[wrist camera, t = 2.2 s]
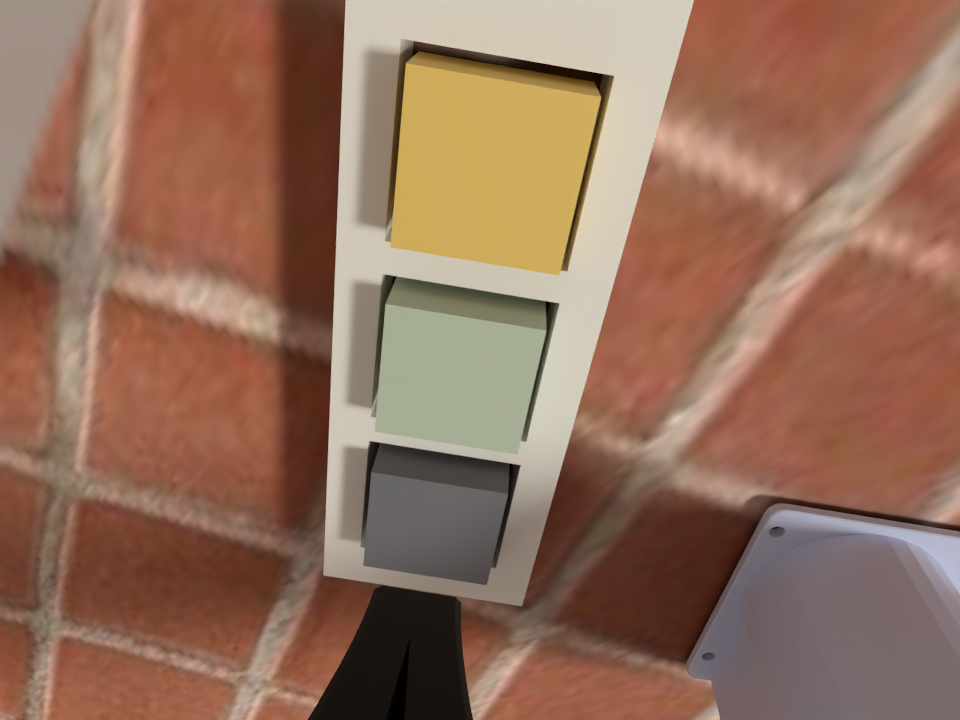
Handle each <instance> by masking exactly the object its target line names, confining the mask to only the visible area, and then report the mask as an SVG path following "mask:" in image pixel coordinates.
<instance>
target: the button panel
mask: <svg viewBox="0 0 960 720" xmlns="http://www.w3.org/2000/svg"><path fill="white" fill-rule="evenodd" d="M693 2H694V0H346V2H345V28H344V54H343V80H342V106H341V131H340V157H339V183H338V209H337V235H336V261H335V287H334V313H333V339H332V365H331V391H330V417H329V442H328V468H327V494H326V520H325V546H324V572H323V575H324V576H330V577H337V578H343V579H350V580H356V581H362V582H369V583H375V584H382V585H388V586H395V587H401V588H407V589H414V590H420V591H427V592H433V593H439V594H446V595H452V596H459V597H465V598H472V599H478V600H484V601H491V602H497V603H504V604H510V605H517V606H522V605H523V601H524V597H525V594H526V590H527V587H528V583H529V580H530V576H531V573H532V569H533V566H534V562H535V559H536V555H537V552H538V548H539V545H540V541H541V538H542V534H543V531H544V527H545V523H546V520H547V516H548V513H549V509H550V506H551V502H552V499H553V495H554V492H555V488H556V485H557V481H558V478H559V474H560V471H561V467H562V464H563V460H564V456H565V453H566V449H567V446H568V442H569V439H570V435H571V432H572V428H573V425H574V421H575V418H576V414H577V411H578V407H579V404H580V400H581V397H582V393H583V390H584V386H585V382H586V379H587V375H588V372H589V368H590V365H591V361H592V358H593V354H594V351H595V347H596V344H597V340H598V337H599V333H600V330H601V326H602V323H603V319H604V316H605V312H606V308H607V305H608V301H609V298H610V294H611V291H612V287H613V284H614V280H615V277H616V273H617V270H618V266H619V263H620V259H621V256H622V252H623V249H624V245H625V241H626V238H627V234H628V231H629V227H630V224H631V220H632V217H633V213H634V210H635V206H636V203H637V199H638V196H639V192H640V189H641V185H642V182H643V178H644V175H645V171H646V167H647V164H648V160H649V157H650V153H651V150H652V146H653V143H654V139H655V136H656V132H657V129H658V125H659V122H660V118H661V115H662V111H663V108H664V104H665V101H666V97H667V93H668V90H669V86H670V83H671V79H672V76H673V72H674V69H675V65H676V62H677V58H678V55H679V51H680V48H681V44H682V41H683V37H684V34H685V30H686V27H687V23H688V19H689V16H690V12H691V9H692V5H693ZM414 41H417V42H423V43H429V44H434V45H440V46H446V47H452V48H457V49H463V50H469V51H475V52H480V53H486V54H492V55H498V56H503V57H509V58H515V59H520V60H526V61H532V62H538V63H543V64H549V65H555V66H561V67H566V68H572V69H578V70H584V71H589V72H595V73H601V74H603V76H602V81H601V85H600V89H599V93H600V95H601V101H600V105H599V109H598V113H597V118H596V122H595V126H594V130H593V135H592V139H591V143H590V147H589V152H588V156H587V160H586V165H585V169H584V173H583V177H582V182H581V186H580V190H579V194H578V199H577V203H576V207H575V211H574V216H573V220H572V224H571V228H570V233H569V237H568V241H567V246H566V250H565V254H564V258H563V263H562V267H561V271H560V275H553V274H547V273H541V272H536V271H530V270H524V269H518V268H512V267H506V266H500V265H494V264H488V263H482V262H476V261H470V260H464V259H458V258H452V257H446V256H440V255H434V254H428V253H422V252H416V251H410V250H404V249H398V248H392V247H390V245H391V233H392V221H393V209H394V198H395V186H396V174H397V162H398V151H399V139H400V127H401V115H402V103H403V92H404V80H405V68H406V63H407V62H408V61H409V60H410V59H411V58H412V55H413V44H414ZM393 276H398V277H404V278H410V279H416V280H422V281H428V282H434V283H440V284H446V285H452V286H458V287H464V288H470V289H476V290H482V291H488V292H494V293H500V294H506V295H512V296H518V297H524V298H530V299H536V300H542V301H548V302H550V305H549V309H548V314H547V318H546V329H547V331H546V335H545V339H544V344H543V348H542V352H541V356H540V361H539V365H538V369H537V373H536V378H535V382H534V386H533V391H532V395H531V399H530V403H529V408H528V412H527V416H526V420H525V425H524V429H523V433H522V437H521V442H520V446H519V450H518V454H511V453H505V452H499V451H492V450H486V449H480V448H474V447H467V446H461V445H455V444H449V443H443V442H436V441H430V440H424V439H418V438H412V437H405V436H399V435H393V434H387V433H380V432H375V422H376V410H377V398H378V386H379V375H380V363H381V351H382V339H383V327H384V316H385V304H386V302H387V299H388V297H389V294H390V292H391V289H392V280H393ZM378 442H380V443H386V444H392V445H398V446H405V447H411V448H417V449H423V450H430V451H436V452H442V453H448V454H454V455H461V456H467V457H473V458H479V459H486V460H492V461H498V462H504V463H511V464H513V465H512V469H511V473H510V477H509V488H508V497H507V501H506V506H505V510H504V514H503V518H502V523H501V527H500V531H499V535H498V540H497V544H496V548H495V553H494V557H493V561H492V565H491V570H490V574H489V578H488V582H487V585H482V584H476V583H470V582H463V581H457V580H450V579H444V578H438V577H431V576H425V575H418V574H412V573H406V572H399V571H393V570H386V569H380V568H374V567H367V566H363V563H364V551H365V540H366V528H367V516H368V504H369V492H370V481H371V471H372V468H373V465H374V462H375V458H376V455H377V448H378Z"/></svg>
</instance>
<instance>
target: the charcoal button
mask: <svg viewBox="0 0 960 720" xmlns="http://www.w3.org/2000/svg"><path fill="white" fill-rule="evenodd" d="M509 465H510V463H504V462H498V461H492V460H486V459H479V458H473V457H467V456H461V455H454V454H448V453H442V452H436V451H430V450H423V449H417V448H411V447H405V446H398V445H392V444H386V443H380V445H379V448H378V452H377V455H376V458H375V462H374V465H373V468H372V471H371V481H370V492H369V504H368V516H367V528H366V540H365V551H364V563H363V566H367V567H374V568H380V569H386V570H393V571H399V572H406V573H412V574H418V575H425V576H431V577H438V578H444V579H450V580H457V581H463V582H470V583H476V584H482V585H487V582H488V578H489V574H490V570H491V565H492V561H493V557H494V553H495V548H496V544H497V540H498V535H499V531H500V527H501V523H502V518H503V514H504V510H505V506H506V501H507V497H508V488H509Z"/></svg>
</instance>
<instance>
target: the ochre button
mask: <svg viewBox="0 0 960 720" xmlns="http://www.w3.org/2000/svg"><path fill="white" fill-rule="evenodd" d="M600 101H601V95H600V93H599V91H598V89H597V87H596V84H595V82H592V81H586V80H581V79H575V78H569V77H563V76H558V75H552V74H546V73H540V72H535V71H529V70H523V69H517V68H512V67H506V66H500V65H494V64H489V63H483V62H477V61H471V60H466V59H460V58H454V57H448V56H443V55H437V54H431V53H425V52H420V51H419V52H418V53H416V54H415V55H414V56H413V57H412V58H411V59H410V60H409V61H408V62H407V63H406V68H405V80H404V92H403V103H402V115H401V127H400V139H399V151H398V162H397V174H396V186H395V198H394V209H393V221H392V233H391V245H390V247H392V248H398V249H404V250H410V251H416V252H422V253H428V254H434V255H440V256H446V257H452V258H458V259H464V260H470V261H476V262H482V263H488V264H494V265H500V266H506V267H512V268H518V269H524V270H530V271H536V272H541V273H547V274H553V275H560V271H561V267H562V263H563V258H564V254H565V250H566V246H567V241H568V237H569V233H570V228H571V224H572V220H573V216H574V211H575V207H576V203H577V199H578V194H579V190H580V186H581V182H582V177H583V173H584V169H585V165H586V160H587V156H588V152H589V147H590V143H591V139H592V135H593V130H594V126H595V122H596V118H597V113H598V109H599V105H600Z"/></svg>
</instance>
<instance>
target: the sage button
mask: <svg viewBox="0 0 960 720" xmlns="http://www.w3.org/2000/svg"><path fill="white" fill-rule="evenodd" d="M546 331H547V329H546V302H545V301H542V300H536V299H530V298H524V297H518V296H512V295H506V294H500V293H494V292H488V291H482V290H476V289H470V288H464V287H458V286H452V285H446V284H440V283H434V282H428V281H422V280H416V279H410V278H404V277H398V276H397V277H396V280H395V282H394V284H393V287H392V289H391V292H390V294H389V297H388V299H387V302H386V304H385V316H384V327H383V339H382V351H381V363H380V375H379V386H378V398H377V410H376V422H375V432H380V433H387V434H393V435H399V436H405V437H412V438H418V439H424V440H430V441H436V442H443V443H449V444H455V445H461V446H467V447H474V448H480V449H486V450H492V451H499V452H505V453H511V454H518V450H519V446H520V442H521V437H522V433H523V429H524V425H525V420H526V416H527V412H528V408H529V403H530V399H531V395H532V391H533V386H534V382H535V378H536V373H537V369H538V365H539V361H540V356H541V352H542V348H543V344H544V339H545V335H546Z"/></svg>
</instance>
